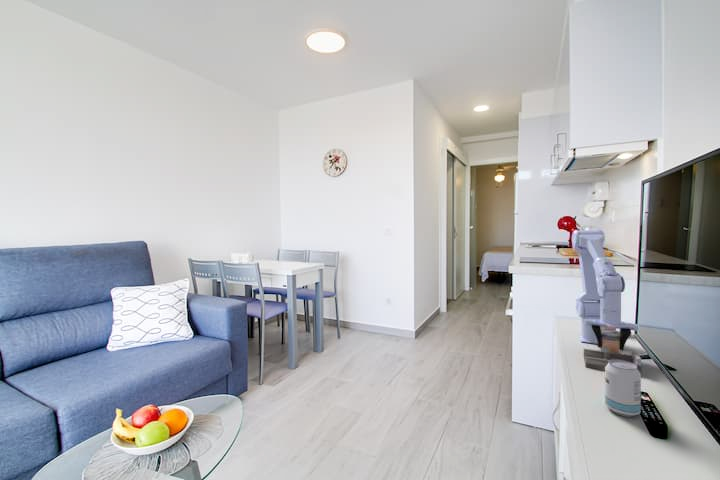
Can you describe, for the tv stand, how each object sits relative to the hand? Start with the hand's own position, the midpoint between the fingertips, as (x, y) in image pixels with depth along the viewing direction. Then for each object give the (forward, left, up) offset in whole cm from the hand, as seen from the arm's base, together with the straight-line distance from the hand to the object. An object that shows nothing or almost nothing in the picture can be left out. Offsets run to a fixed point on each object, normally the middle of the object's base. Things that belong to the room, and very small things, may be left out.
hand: (610, 348), depth 113 cm
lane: (+9, -1, -3) cm, 10 cm away
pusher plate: (+9, -2, -1) cm, 9 cm away
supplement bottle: (-31, +2, -3) cm, 31 cm away
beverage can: (+39, -2, -3) cm, 39 cm away
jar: (0, 0, -2) cm, 2 cm away
